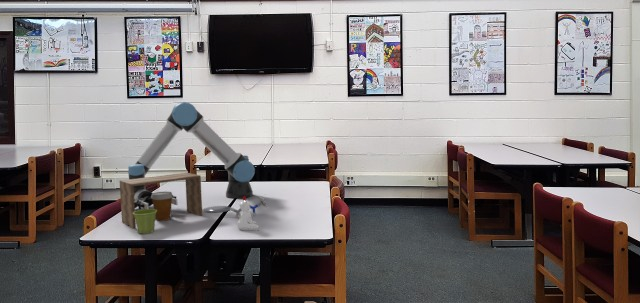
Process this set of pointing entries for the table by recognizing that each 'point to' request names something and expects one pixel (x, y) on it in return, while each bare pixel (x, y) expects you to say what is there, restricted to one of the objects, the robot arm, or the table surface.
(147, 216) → the plant pot
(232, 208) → the molecular model
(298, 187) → the table surface
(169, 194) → the disposable coffee cup
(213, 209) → the slate coaster
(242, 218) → the white creature statuette
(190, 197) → the walnut shelf
